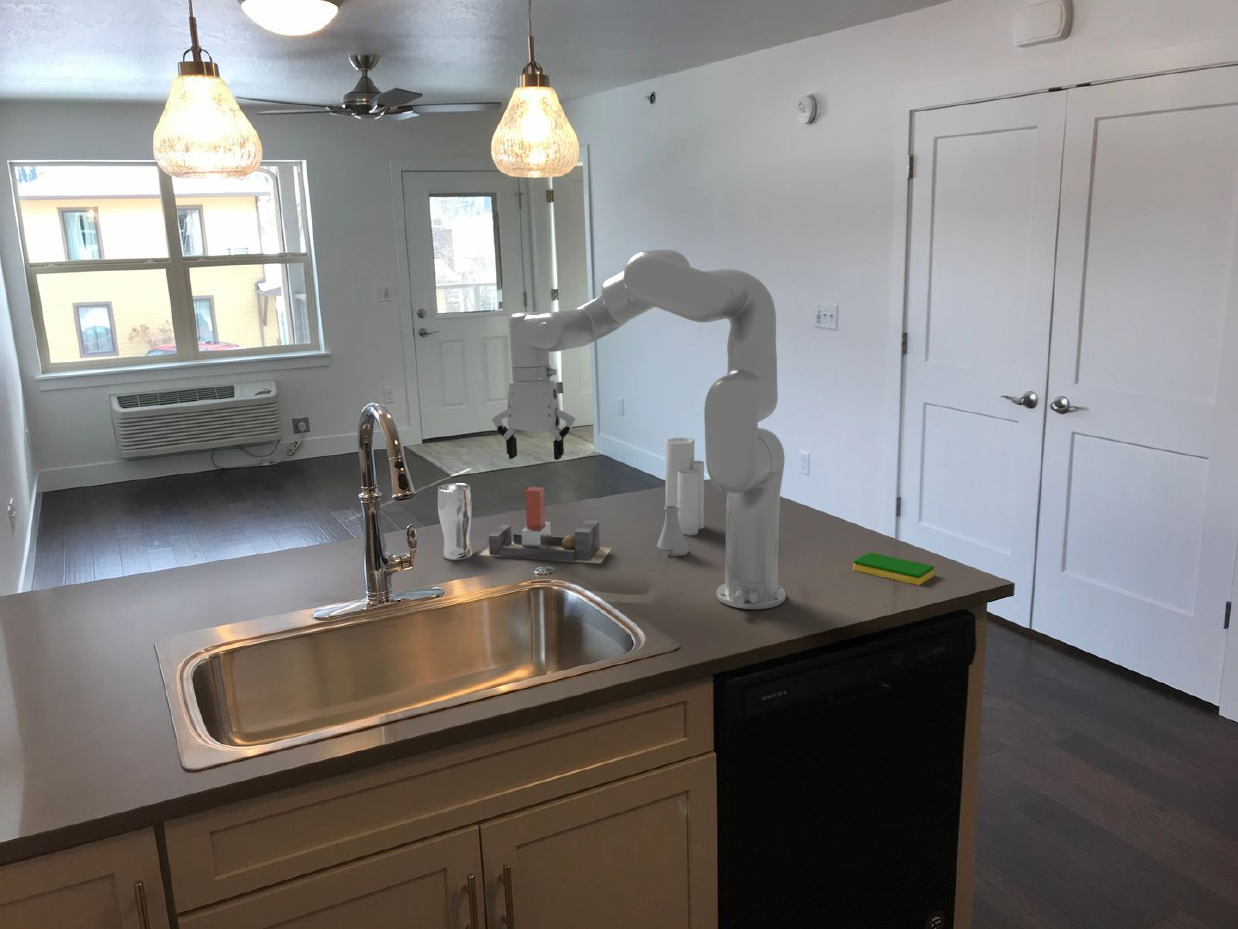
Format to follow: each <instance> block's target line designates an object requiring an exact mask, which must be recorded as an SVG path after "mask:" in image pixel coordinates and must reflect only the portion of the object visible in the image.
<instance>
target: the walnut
mask: <svg viewBox="0 0 1238 929" xmlns="http://www.w3.org/2000/svg"><path fill="white" fill-rule="evenodd" d="M564 536H565V537H564V539H563V541H562V546H563V548H564V550H575V534H568V535H564Z"/></svg>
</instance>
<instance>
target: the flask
mask: <svg viewBox="0 0 1238 929" xmlns="http://www.w3.org/2000/svg"><path fill="white" fill-rule="evenodd" d="M663 510H664V511H665V518H664V523H663V526H662V529H661V533H660V536H659V539H658V541H657V544H656V547H658V548H659V549H660V550H667V551H670V552H669V553H668V555H667V557H671V558H674V557H675V558H676V557H683V556H686V555H687V554H688V553H689V547H688V544H687V542H686V541H687V540H686V539H685V537H684V536H685V535H683V533H682V530H681V527H680V524H679V518H678V510H679V506H676V505H668V506H666V505H665V506H664V507H663Z"/></svg>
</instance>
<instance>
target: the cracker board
mask: <svg viewBox="0 0 1238 929" xmlns="http://www.w3.org/2000/svg"><path fill="white" fill-rule="evenodd" d="M565 536H566V535H553V534H551V545H550V546H549V547H548V548H547V549H546V548H530V547H522V532H519V533H517V532H515V533H513V535H512V525H511V524H501V525H499V527H498V528H496V529H495V530H494V531H493V532H492V533H490V534H489V535H488V546H487V548H485V549H484V550H483V551H482V552H480V554H478V556H483V557H498V558H512V559H513V558H514V559H527V560H542V561H544V560H545V561H556V562H557V561H558V562H559V561H560V562H572V563H584V564H585V563H587V564H602V562H603V561H604V560H605V558H606V557H607V556H608V554H609V553H610V551H611V550H612V549H613V547H605V546H600V545H601V544H600V521H599V520H584V521H583V522H582V523H581V524H580V525H579V526H578V528H576V529H575V531H574V536H575V550H564V548H563V546H562V541H563V539H564V537H565ZM512 537H513V541H512Z"/></svg>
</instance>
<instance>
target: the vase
mask: <svg viewBox="0 0 1238 929" xmlns="http://www.w3.org/2000/svg"><path fill="white" fill-rule="evenodd" d="M664 442H665V450H664V451H665V459H664V460H665V506H668V505H676V506H679V510H678V518H679V524H680V527H681V530H682V533H683V534H686V535H685V536H695V535H698V534H699V530H702V529H701V528H703V529H704V526H705V525H704V523H705V522H704V514H705V513H704V512H705V500H704V499H705V497H704V496H705V462H704V461H702V460H695V439H694V438H690V437H671V438H667V439H665V441H664ZM694 534H695V535H694Z"/></svg>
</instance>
